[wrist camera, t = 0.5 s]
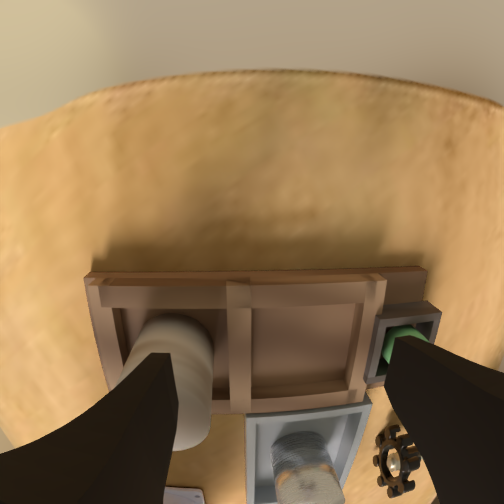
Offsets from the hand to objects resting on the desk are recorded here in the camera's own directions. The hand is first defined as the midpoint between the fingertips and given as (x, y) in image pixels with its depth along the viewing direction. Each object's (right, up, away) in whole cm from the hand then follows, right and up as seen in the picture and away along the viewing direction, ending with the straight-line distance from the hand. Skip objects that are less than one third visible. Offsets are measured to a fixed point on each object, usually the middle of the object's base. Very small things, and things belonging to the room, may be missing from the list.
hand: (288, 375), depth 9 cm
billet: (+2, -12, +12) cm, 17 cm away
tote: (+2, -11, +12) cm, 17 cm away
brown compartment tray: (0, -1, +9) cm, 9 cm away
